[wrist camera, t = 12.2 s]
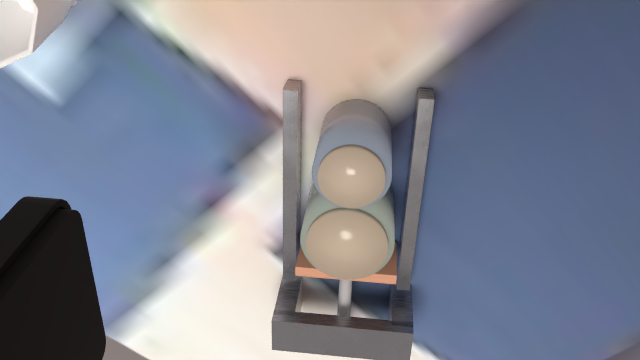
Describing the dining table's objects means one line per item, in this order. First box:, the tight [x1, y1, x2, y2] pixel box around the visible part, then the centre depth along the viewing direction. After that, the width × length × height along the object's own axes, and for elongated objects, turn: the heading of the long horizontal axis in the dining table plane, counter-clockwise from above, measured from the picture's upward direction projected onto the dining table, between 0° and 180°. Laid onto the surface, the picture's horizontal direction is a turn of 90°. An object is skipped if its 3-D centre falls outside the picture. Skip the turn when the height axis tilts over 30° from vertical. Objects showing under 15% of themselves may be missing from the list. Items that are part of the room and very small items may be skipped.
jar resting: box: [300, 183, 395, 280], centre depth 43 cm, size 6×6×6 cm
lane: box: [272, 80, 435, 360], centre depth 43 cm, size 20×11×6 cm, turn 178°
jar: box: [312, 99, 392, 209], centre depth 40 cm, size 5×5×7 cm
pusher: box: [295, 242, 397, 317], centre depth 47 cm, size 10×7×4 cm
